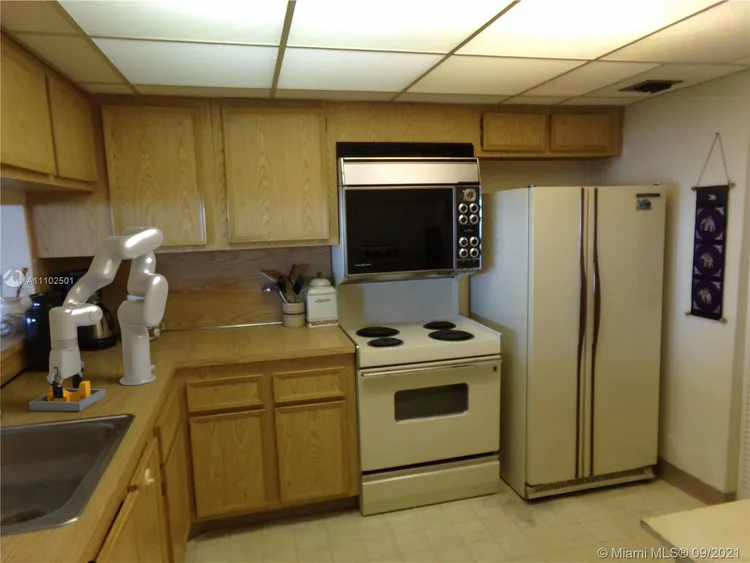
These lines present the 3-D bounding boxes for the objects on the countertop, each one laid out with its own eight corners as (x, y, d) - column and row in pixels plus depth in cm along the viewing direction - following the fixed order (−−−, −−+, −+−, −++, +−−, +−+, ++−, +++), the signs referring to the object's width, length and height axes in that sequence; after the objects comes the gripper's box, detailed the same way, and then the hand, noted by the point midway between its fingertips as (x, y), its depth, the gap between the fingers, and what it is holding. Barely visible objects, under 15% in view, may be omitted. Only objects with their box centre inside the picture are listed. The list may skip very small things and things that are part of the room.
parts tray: (59, 396, 176) (58, 388, 176) (105, 397, 176) (104, 389, 175) (29, 411, 163) (28, 402, 162) (80, 412, 162) (79, 403, 161)
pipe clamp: (47, 403, 167) (46, 385, 166) (56, 399, 171) (54, 381, 171) (83, 403, 167) (82, 385, 166) (90, 399, 171) (89, 381, 171)
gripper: (70, 337, 175) (74, 384, 177) (35, 349, 158) (39, 401, 160) (91, 337, 175) (94, 385, 177) (57, 350, 158) (61, 402, 160)
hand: (68, 393), depth 169 cm, fingers open, 9 cm apart
